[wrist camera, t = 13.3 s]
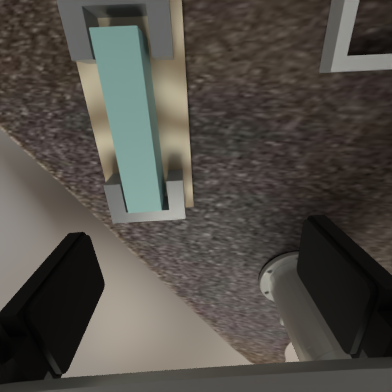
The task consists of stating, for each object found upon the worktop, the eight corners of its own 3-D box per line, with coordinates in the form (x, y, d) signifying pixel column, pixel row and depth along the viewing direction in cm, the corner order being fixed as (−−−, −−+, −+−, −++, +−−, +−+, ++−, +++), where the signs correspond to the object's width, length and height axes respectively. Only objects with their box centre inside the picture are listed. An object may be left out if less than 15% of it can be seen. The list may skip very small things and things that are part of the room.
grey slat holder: (185, 204, 33) (185, 218, 30) (120, 208, 33) (113, 223, 29) (169, -4, 23) (166, -21, 19) (73, 0, 22) (52, -16, 19)
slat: (165, 189, 32) (161, 211, 27) (137, 191, 32) (128, 213, 27) (147, 38, 24) (137, 25, 19) (110, 40, 24) (88, 27, 19)
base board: (193, 202, 35) (193, 206, 34) (116, 206, 35) (113, 211, 33) (181, -6, 24) (181, -11, 22) (66, -1, 23) (59, -6, 22)
